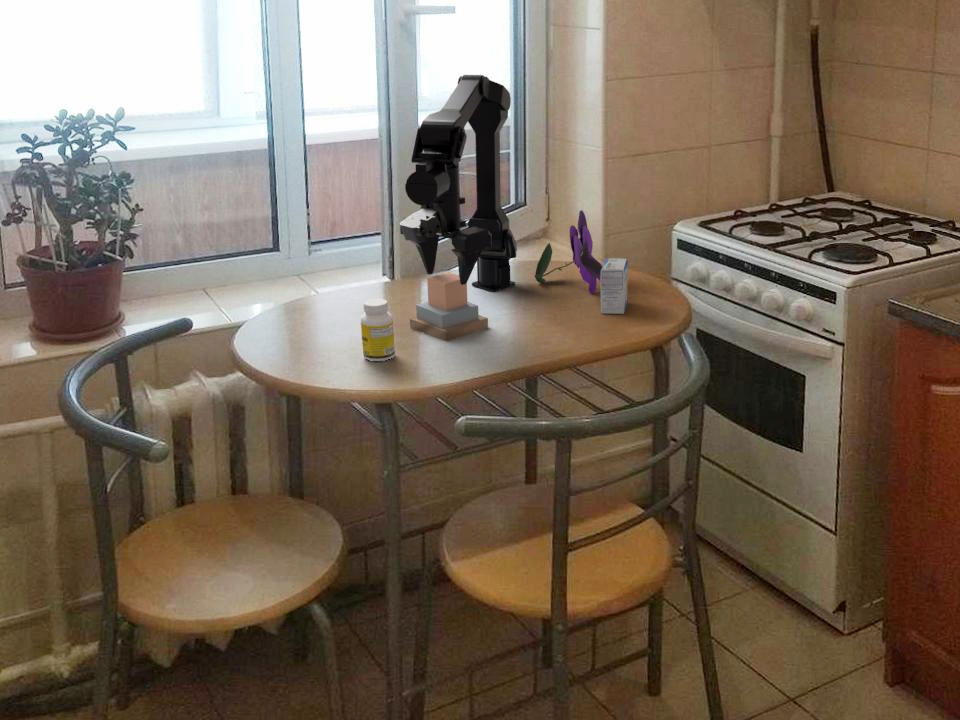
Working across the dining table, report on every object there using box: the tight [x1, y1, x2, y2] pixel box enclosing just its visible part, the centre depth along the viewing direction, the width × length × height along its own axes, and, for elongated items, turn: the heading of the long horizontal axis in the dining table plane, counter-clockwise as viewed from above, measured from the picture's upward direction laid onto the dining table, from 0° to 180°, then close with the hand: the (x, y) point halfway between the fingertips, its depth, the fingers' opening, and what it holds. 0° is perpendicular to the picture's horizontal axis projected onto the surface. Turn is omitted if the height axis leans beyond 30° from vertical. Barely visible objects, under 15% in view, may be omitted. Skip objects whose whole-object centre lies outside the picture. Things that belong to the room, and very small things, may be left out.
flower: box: [534, 210, 603, 294], centre depth 223 cm, size 15×15×14 cm
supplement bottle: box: [360, 298, 396, 362], centre depth 187 cm, size 5×5×10 cm
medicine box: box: [600, 257, 629, 315], centre depth 209 cm, size 8×4×9 cm, turn 168°
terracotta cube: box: [426, 271, 468, 311], centre depth 200 cm, size 5×5×5 cm
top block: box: [415, 301, 479, 329], centre depth 201 cm, size 8×8×2 cm
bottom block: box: [409, 314, 489, 342], centre depth 202 cm, size 10×10×2 cm
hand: (446, 279), depth 199 cm, fingers open, 9 cm apart
